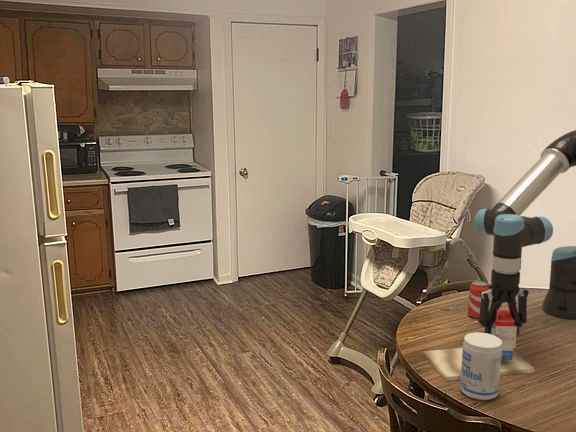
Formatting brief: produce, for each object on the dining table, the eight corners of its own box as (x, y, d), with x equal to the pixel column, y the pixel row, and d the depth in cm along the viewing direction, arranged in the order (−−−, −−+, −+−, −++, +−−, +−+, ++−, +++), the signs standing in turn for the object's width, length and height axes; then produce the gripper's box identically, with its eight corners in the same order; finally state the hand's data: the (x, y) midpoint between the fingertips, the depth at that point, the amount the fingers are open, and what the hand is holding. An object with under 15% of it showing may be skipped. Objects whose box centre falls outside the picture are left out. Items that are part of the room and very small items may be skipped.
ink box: (512, 360, 162) (516, 311, 159) (494, 360, 163) (497, 310, 160) (506, 347, 171) (509, 300, 168) (488, 347, 171) (491, 300, 168)
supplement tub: (453, 393, 150) (456, 340, 147) (468, 379, 157) (471, 328, 154) (490, 405, 144) (494, 350, 141) (504, 390, 151) (508, 338, 148)
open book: (504, 347, 176) (505, 340, 175) (534, 372, 161) (535, 364, 160) (423, 355, 172) (423, 347, 171) (446, 381, 156) (446, 372, 156)
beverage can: (480, 321, 196) (482, 287, 194) (464, 315, 201) (466, 282, 199) (490, 316, 200) (492, 283, 198) (474, 311, 205) (476, 279, 202)
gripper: (529, 264, 167) (524, 339, 171) (467, 268, 164) (463, 344, 169) (545, 271, 159) (538, 349, 164) (480, 276, 156) (476, 355, 161)
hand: (500, 347), depth 166 cm, fingers closed on ink box, 6 cm apart
